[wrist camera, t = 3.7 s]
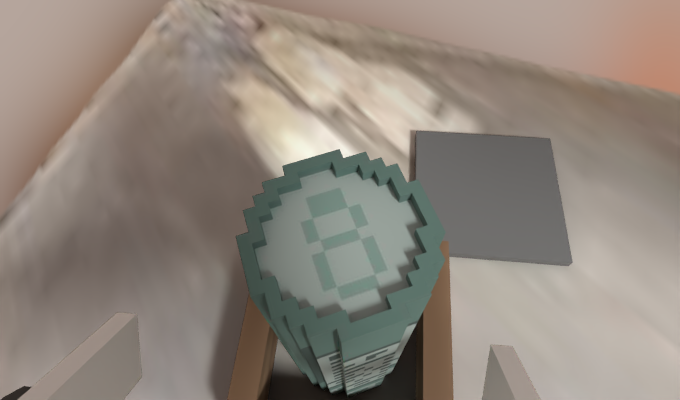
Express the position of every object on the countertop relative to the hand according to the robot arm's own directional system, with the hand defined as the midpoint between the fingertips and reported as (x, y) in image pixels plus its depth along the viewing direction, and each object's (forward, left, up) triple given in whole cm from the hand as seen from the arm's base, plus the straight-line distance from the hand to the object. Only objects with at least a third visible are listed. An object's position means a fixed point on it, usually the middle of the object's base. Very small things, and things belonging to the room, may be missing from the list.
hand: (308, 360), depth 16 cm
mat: (-10, -14, -10) cm, 20 cm away
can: (-1, -3, -10) cm, 11 cm away
